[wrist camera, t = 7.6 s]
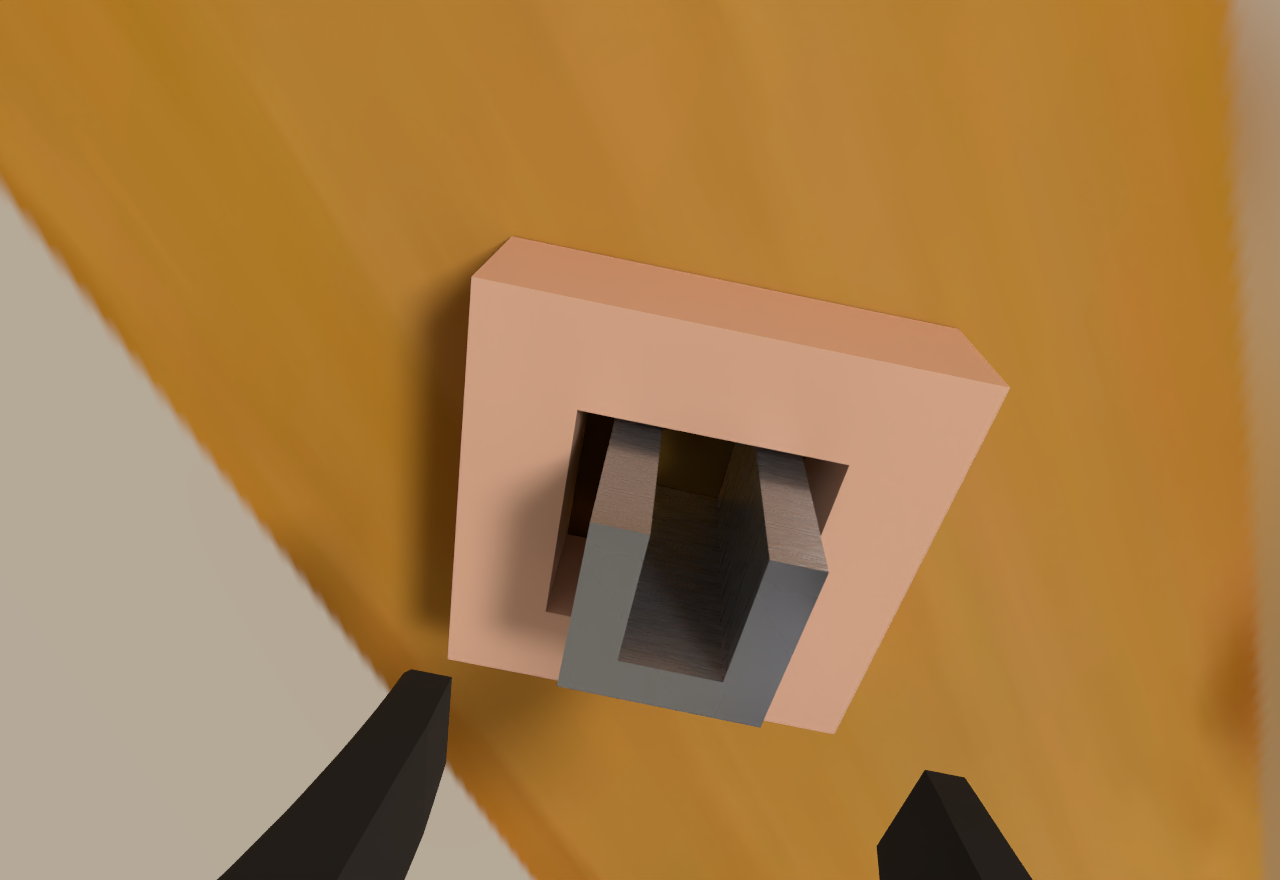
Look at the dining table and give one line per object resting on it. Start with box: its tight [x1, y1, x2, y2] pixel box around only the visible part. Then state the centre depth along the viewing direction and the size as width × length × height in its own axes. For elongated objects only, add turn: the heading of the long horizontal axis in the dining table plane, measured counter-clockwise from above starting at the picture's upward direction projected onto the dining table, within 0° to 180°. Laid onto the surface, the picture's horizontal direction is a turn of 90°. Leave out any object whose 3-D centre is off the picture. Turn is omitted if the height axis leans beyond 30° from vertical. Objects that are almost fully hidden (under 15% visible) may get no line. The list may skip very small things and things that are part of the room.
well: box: [448, 236, 1010, 734], centre depth 16 cm, size 10×10×3 cm
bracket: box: [557, 418, 829, 727], centre depth 15 cm, size 4×4×6 cm
